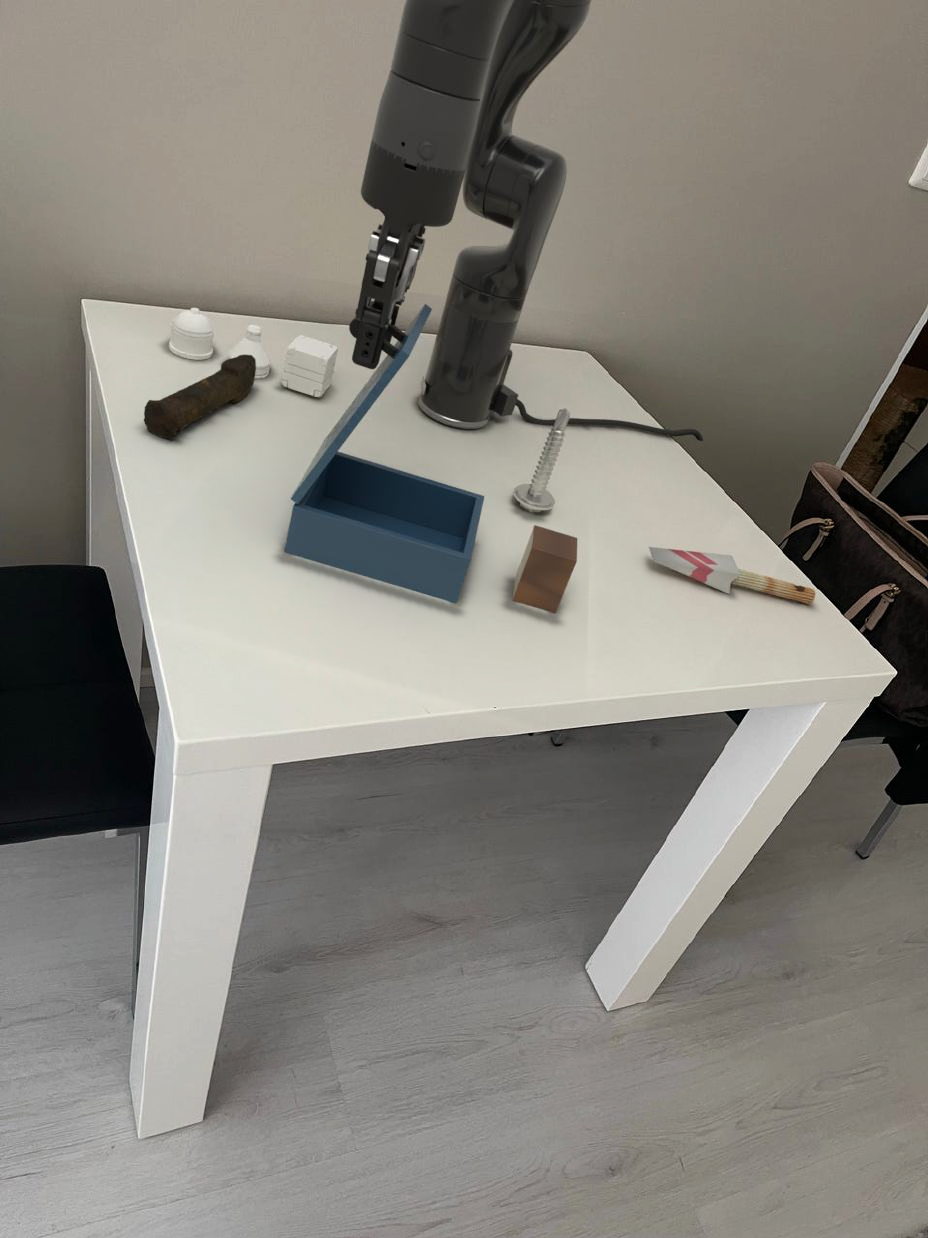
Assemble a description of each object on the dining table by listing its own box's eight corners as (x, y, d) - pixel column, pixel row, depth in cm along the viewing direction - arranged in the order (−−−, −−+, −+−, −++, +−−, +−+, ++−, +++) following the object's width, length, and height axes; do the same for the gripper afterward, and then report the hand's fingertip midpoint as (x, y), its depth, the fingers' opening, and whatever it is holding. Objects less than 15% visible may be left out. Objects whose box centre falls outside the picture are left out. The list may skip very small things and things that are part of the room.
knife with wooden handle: (653, 533, 106) (812, 578, 110) (642, 553, 108) (800, 596, 112) (659, 551, 103) (822, 597, 107) (648, 572, 105) (810, 616, 109)
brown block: (554, 594, 97) (577, 537, 93) (553, 619, 93) (577, 560, 89) (513, 582, 97) (534, 524, 93) (509, 606, 93) (532, 547, 89)
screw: (502, 498, 110) (539, 501, 112) (517, 522, 107) (555, 524, 109) (537, 395, 103) (576, 400, 105) (554, 417, 99) (594, 421, 101)
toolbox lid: (432, 308, 87) (385, 271, 86) (409, 355, 77) (356, 314, 75) (330, 445, 96) (286, 414, 95) (297, 504, 86) (247, 469, 84)
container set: (330, 386, 121) (338, 345, 118) (318, 401, 117) (327, 359, 114) (179, 337, 121) (183, 294, 118) (161, 350, 117) (165, 306, 113)
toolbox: (469, 543, 100) (484, 495, 97) (454, 609, 90) (470, 559, 87) (315, 496, 99) (326, 447, 96) (282, 558, 89) (292, 506, 86)
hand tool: (172, 445, 100) (177, 405, 97) (140, 430, 100) (144, 389, 98) (271, 396, 115) (277, 360, 112) (243, 383, 116) (249, 347, 113)
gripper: (390, 120, 80) (347, 315, 89) (354, 146, 68) (308, 369, 77) (476, 149, 80) (424, 341, 90) (455, 181, 68) (397, 398, 78)
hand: (370, 353), depth 83 cm, fingers closed on toolbox lid, 5 cm apart
